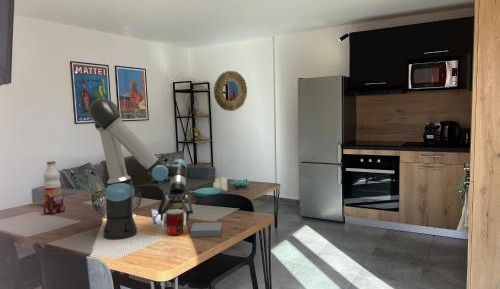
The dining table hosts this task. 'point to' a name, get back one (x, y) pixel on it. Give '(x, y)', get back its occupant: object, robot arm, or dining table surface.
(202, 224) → the grey flat block
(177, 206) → the tan rounded lump
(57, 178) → the fruit juice
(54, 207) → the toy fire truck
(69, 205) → the dining table surface
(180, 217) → the canned food
